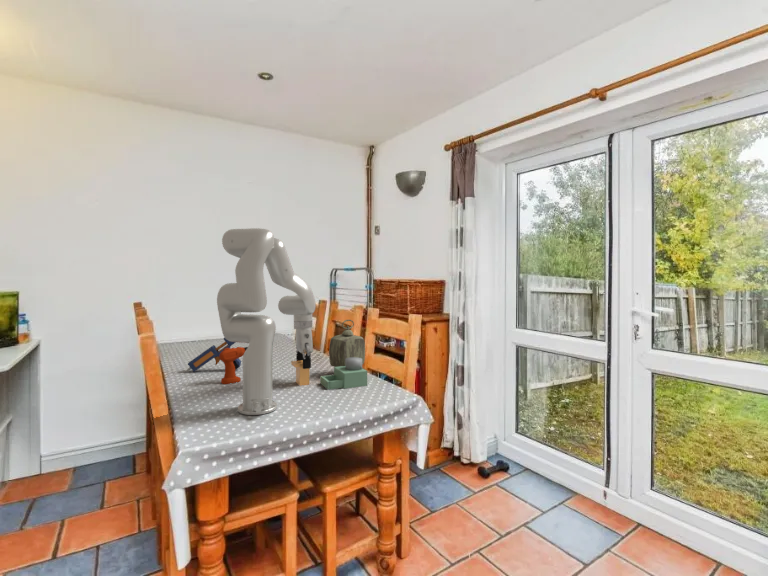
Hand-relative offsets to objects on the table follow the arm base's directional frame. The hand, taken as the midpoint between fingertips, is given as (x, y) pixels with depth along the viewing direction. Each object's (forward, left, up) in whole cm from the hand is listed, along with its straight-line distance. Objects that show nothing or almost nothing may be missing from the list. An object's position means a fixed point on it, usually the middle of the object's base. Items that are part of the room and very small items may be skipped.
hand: (303, 365), depth 166 cm
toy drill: (+14, +22, -8) cm, 28 cm away
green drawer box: (-9, -14, -7) cm, 18 cm away
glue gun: (+36, +32, -8) cm, 48 cm away
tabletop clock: (+4, -22, -8) cm, 23 cm away
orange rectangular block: (-1, +1, -7) cm, 7 cm away
